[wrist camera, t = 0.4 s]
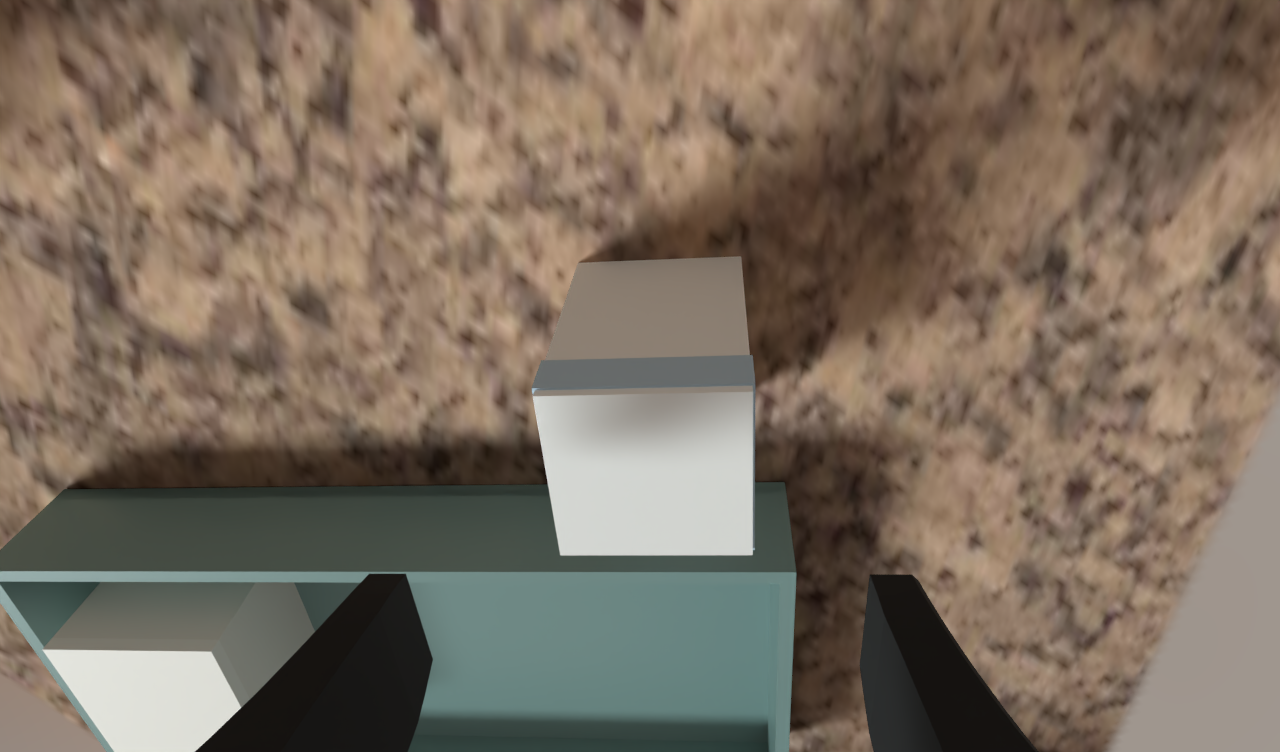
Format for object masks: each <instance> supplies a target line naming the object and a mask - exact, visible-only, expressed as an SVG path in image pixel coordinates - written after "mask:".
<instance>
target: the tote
mask: <svg viewBox="0 0 1280 752" xmlns="http://www.w3.org/2000/svg"><path fill="white" fill-rule="evenodd" d="M368 574H406V576H407V579H408V582H409V585H410V588H411V591H412V595H413V598H414V601H415V604H416V607H417V610H418V613H419V617H420V620H421V623H422V626H423V629H424V632H425V636H426V639H427V642H428V645H429V648H430V651H431V655H432V658H433V662H432V666H431V671H430V675H429V680H428V684H427V689H426V693H425V697H424V701H423V705H422V709H421V713H420V717H419V721H418V724H417V727H416V730H415V733H414V736H413V739H412V742H411V744H410V747H409V750H408V752H789V734H790V711H791V687H792V664H793V641H794V617H795V594H796V565H795V557H794V550H793V542H792V534H791V526H790V518H789V510H788V503H787V495H786V487H785V482H755V550H753V555H560V551H559V545H558V540H557V534H556V528H555V522H554V517H553V511H552V505H551V499H550V493H549V488H548V484H544V485H443V486H343V487H242V488H142V489H64V490H63V491H62V492H61V493H60V494H59V495H58V496H57V497H56V498H55V499H54V500H53V501H52V502H51V503H49V504H48V505H47V506H46V507H45V508H44V509H43V510H42V511H41V512H40V513H39V514H38V515H37V516H36V517H35V518H34V519H33V520H31V521H30V522H29V523H28V524H27V525H26V526H25V527H24V528H23V529H22V530H21V531H20V532H19V533H18V534H17V535H16V536H14V537H13V538H12V539H11V540H10V541H9V542H8V543H7V544H6V545H5V546H4V547H3V548H2V549H1V550H0V603H1V605H2V606H3V607H4V609H5V610H6V612H7V613H8V614H9V616H10V617H11V619H12V620H13V621H14V623H15V624H16V626H17V627H18V628H19V630H20V631H21V633H22V634H23V635H24V637H25V638H26V640H27V641H28V642H29V644H30V645H31V647H32V648H33V649H34V651H35V652H36V654H37V655H38V657H39V658H40V659H41V661H42V662H43V664H44V665H45V666H46V668H47V669H48V671H49V672H50V673H51V675H52V676H53V678H54V679H55V680H56V682H57V683H58V685H59V686H60V687H61V689H62V690H63V692H64V693H65V694H66V696H67V697H68V699H69V700H70V701H71V703H72V704H73V706H74V707H75V708H76V710H77V711H78V713H79V714H80V715H81V717H82V718H83V720H84V721H85V722H86V724H87V725H88V727H89V728H90V729H91V731H92V732H93V734H94V735H95V736H96V738H97V739H98V741H99V742H100V743H101V745H102V746H103V748H104V749H105V750H106V752H114V751H113V749H112V748H111V747H110V745H109V744H108V742H107V741H106V739H105V738H104V737H103V735H102V734H101V732H100V731H99V730H98V728H97V727H96V725H95V724H94V722H93V721H92V720H91V718H90V717H89V715H88V714H87V713H86V711H85V710H84V708H83V707H82V705H81V704H80V703H79V701H78V700H77V698H76V697H75V696H74V694H73V693H72V691H71V690H70V688H69V687H68V686H67V684H66V683H65V681H64V680H63V678H62V677H61V676H60V674H59V673H58V671H57V670H56V669H55V667H54V666H53V664H52V663H51V661H50V660H49V659H48V657H47V656H46V654H45V653H44V652H43V650H42V649H43V648H44V647H45V646H46V645H47V643H48V642H49V641H50V640H51V639H52V638H53V636H54V635H55V634H56V633H57V632H58V631H59V630H60V628H61V627H62V626H63V625H64V624H65V623H66V621H67V620H68V619H69V618H70V617H71V616H72V615H73V613H74V612H75V611H76V610H77V609H78V608H79V606H80V605H81V604H82V603H83V602H84V601H85V600H86V598H87V597H88V596H89V595H90V594H91V593H92V592H93V590H94V589H95V588H96V587H97V586H98V585H99V583H100V582H294V584H295V586H296V588H297V591H298V593H299V595H300V598H301V600H302V602H303V605H304V607H305V609H306V612H307V614H308V616H309V619H310V621H311V624H312V626H313V628H314V631H316V630H317V629H318V628H319V627H320V626H321V625H322V624H323V622H324V621H325V620H326V619H327V618H328V617H329V616H330V615H331V614H332V613H333V612H334V611H335V609H336V608H337V607H338V606H339V605H340V604H341V603H342V602H343V601H344V600H345V599H346V598H347V596H348V595H349V594H350V593H351V592H352V591H353V590H354V589H355V588H356V587H357V586H358V585H359V584H360V583H361V582H362V581H363V580H364V579H365V578H366V576H367V575H368Z"/></svg>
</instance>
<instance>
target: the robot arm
mask: <svg viewBox="0 0 1280 752" xmlns="http://www.w3.org/2000/svg"><path fill="white" fill-rule="evenodd" d="M432 662H433V658H432V655H431V651H430V648H429V645H428V642H427V639H426V636H425V632H424V629H423V626H422V623H421V620H420V617H419V613H418V610H417V607H416V604H415V601H414V598H413V595H412V591H411V588H410V585H409V582H408V579H407V576H406V574H368V575H367V576H366V578H365V579H364V580H363V581H362V582H361V583H360V584H359V585H358V586H357V587H356V588H355V589H354V590H353V591H352V592H351V593H350V594H349V595H348V596H347V598H346V599H345V600H344V601H343V602H342V603H341V604H340V605H339V606H338V607H337V608H336V609H335V611H334V612H333V613H332V614H331V615H330V616H329V617H328V618H327V619H326V620H325V621H324V622H323V624H322V625H321V626H320V627H319V628H318V629H317V630H316V631H315V632H314V633H313V634H312V635H311V636H310V638H309V639H308V640H307V641H306V642H305V643H304V644H303V645H302V646H301V647H300V648H299V649H298V650H297V651H296V652H295V653H294V655H293V656H292V657H291V658H290V659H289V660H288V661H287V662H286V663H285V664H284V665H283V666H282V667H281V668H280V669H279V670H278V671H277V672H276V673H275V674H274V675H273V676H272V677H271V678H270V680H269V681H268V682H267V683H266V684H265V685H264V686H263V687H262V688H261V689H260V690H259V691H258V692H257V693H256V694H255V695H254V696H253V697H252V698H251V699H250V700H249V701H248V702H247V703H246V704H245V705H243V706H242V707H241V708H240V709H239V710H238V711H237V712H236V713H235V714H234V715H233V716H232V717H231V718H230V719H229V720H228V721H227V722H226V723H225V724H224V725H223V726H222V727H221V728H220V729H219V730H218V731H217V732H215V733H214V734H213V735H212V736H211V737H210V738H209V739H208V740H207V741H206V742H205V743H204V744H203V745H202V746H200V747H199V748H198V749H197V750H196V751H195V752H408V750H409V747H410V744H411V742H412V739H413V736H414V733H415V730H416V727H417V724H418V721H419V717H420V713H421V709H422V705H423V701H424V697H425V693H426V689H427V684H428V680H429V675H430V671H431V666H432ZM860 670H861V678H862V685H863V693H864V700H865V707H866V714H867V721H868V727H869V734H870V738H871V742H872V746H873V750H874V752H1038V751H1037V749H1036V748H1035V747H1034V746H1033V744H1032V743H1031V742H1030V741H1029V740H1028V738H1027V737H1026V736H1025V735H1024V733H1023V732H1022V731H1021V730H1020V728H1019V727H1018V726H1017V724H1016V723H1015V722H1014V721H1013V719H1012V718H1011V717H1010V715H1009V714H1008V713H1007V712H1006V710H1005V709H1004V708H1003V706H1002V705H1001V703H1000V702H999V701H998V699H997V698H996V697H995V695H994V694H993V693H992V691H991V690H990V689H989V687H988V686H987V684H986V683H985V682H984V680H983V679H982V678H981V676H980V675H979V674H978V672H977V671H976V669H975V668H974V667H973V665H972V664H971V662H970V661H969V659H968V658H967V657H966V655H965V654H964V652H963V651H962V649H961V648H960V646H959V645H958V643H957V642H956V640H955V639H954V637H953V636H952V634H951V633H950V631H949V630H948V628H947V627H946V625H945V624H944V622H943V620H942V619H941V617H940V616H939V614H938V613H937V611H936V609H935V608H934V606H933V604H932V603H931V601H930V600H929V598H928V596H927V595H926V593H925V591H924V589H923V588H922V586H921V584H920V583H919V581H918V580H917V579H916V578H915V577H914V576H913V575H870V578H869V587H868V596H867V605H866V614H865V623H864V632H863V641H862V649H861V658H860Z"/></svg>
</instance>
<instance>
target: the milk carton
mask: <svg viewBox="0 0 1280 752" xmlns="http://www.w3.org/2000/svg"><path fill="white" fill-rule="evenodd" d="M532 393H533V401H534V407H535V413H536V418H537V424H538V430H539V436H540V441H541V447H542V453H543V459H544V465H545V470H546V476H547V482H548V488H549V493H550V499H551V505H552V511H553V517H554V522H555V528H556V534H557V540H558V545H559V551H560V555H753V550H755V374H754V363H753V355H750V351H749V340H748V328H747V317H746V306H745V294H744V283H743V272H742V260H741V256H738V257H712V258H686V259H660V260H634V261H608V262H582V263H578V265H577V268H576V270H575V273H574V276H573V279H572V282H571V285H570V288H569V291H568V294H567V297H566V300H565V303H564V306H563V309H562V312H561V315H560V318H559V320H558V323H557V326H556V329H555V332H554V335H553V338H552V341H551V344H550V347H549V350H548V353H547V356H546V359H545V360H541V363H540V366H539V369H538V371H537V374H536V377H535V380H534V383H533V386H532Z"/></svg>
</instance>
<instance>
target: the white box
mask: <svg viewBox="0 0 1280 752" xmlns="http://www.w3.org/2000/svg"><path fill="white" fill-rule="evenodd" d="M314 632H315V631H314V628H313V626H312V624H311V621H310V619H309V616H308V614H307V612H306V609H305V607H304V605H303V602H302V600H301V598H300V595H299V593H298V591H297V588H296V586H295V584H294V582H100V583H99V585H98V586H97V587H96V588H95V589H94V590H93V592H92V593H91V594H90V595H89V596H88V597H87V598H86V600H85V601H84V602H83V603H82V604H81V605H80V606H79V608H78V609H77V610H76V611H75V612H74V613H73V615H72V616H71V617H70V618H69V619H68V620H67V621H66V623H65V624H64V625H63V626H62V627H61V628H60V630H59V631H58V632H57V633H56V634H55V635H54V636H53V638H52V639H51V640H50V641H49V642H48V643H47V645H46V646H45V647H44V648H43V649H42V650H43V652H44V653H45V654H46V656H47V657H48V659H49V660H50V661H51V663H52V664H53V666H54V667H55V669H56V670H57V671H58V673H59V674H60V676H61V677H62V678H63V680H64V681H65V683H66V684H67V686H68V687H69V688H70V690H71V691H72V693H73V694H74V696H75V697H76V698H77V700H78V701H79V703H80V704H81V705H82V707H83V708H84V710H85V711H86V713H87V714H88V715H89V717H90V718H91V720H92V721H93V722H94V724H95V725H96V727H97V728H98V730H99V731H100V732H101V734H102V735H103V737H104V738H105V739H106V741H107V742H108V744H109V745H110V747H111V748H112V749H113V751H114V752H195V751H196V750H197V749H198V748H199V747H200V746H202V745H203V744H204V743H205V742H206V741H207V740H208V739H209V738H210V737H211V736H212V735H213V734H214V733H215V732H217V731H218V730H219V729H220V728H221V727H222V726H223V725H224V724H225V723H226V722H227V721H228V720H229V719H230V718H231V717H232V716H233V715H234V714H235V713H236V712H237V711H238V710H239V709H240V708H241V707H242V706H243V705H245V704H246V703H247V702H248V701H249V700H250V699H251V698H252V697H253V696H254V695H255V694H256V693H257V692H258V691H259V690H260V689H261V688H262V687H263V686H264V685H265V684H266V683H267V682H268V681H269V680H270V678H271V677H272V676H273V675H274V674H275V673H276V672H277V671H278V670H279V669H280V668H281V667H282V666H283V665H284V664H285V663H286V662H287V661H288V660H289V659H290V658H291V657H292V656H293V655H294V653H295V652H296V651H297V650H298V649H299V648H300V647H301V646H302V645H303V644H304V643H305V642H306V641H307V640H308V639H309V638H310V636H311V635H312V634H313V633H314Z"/></svg>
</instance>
